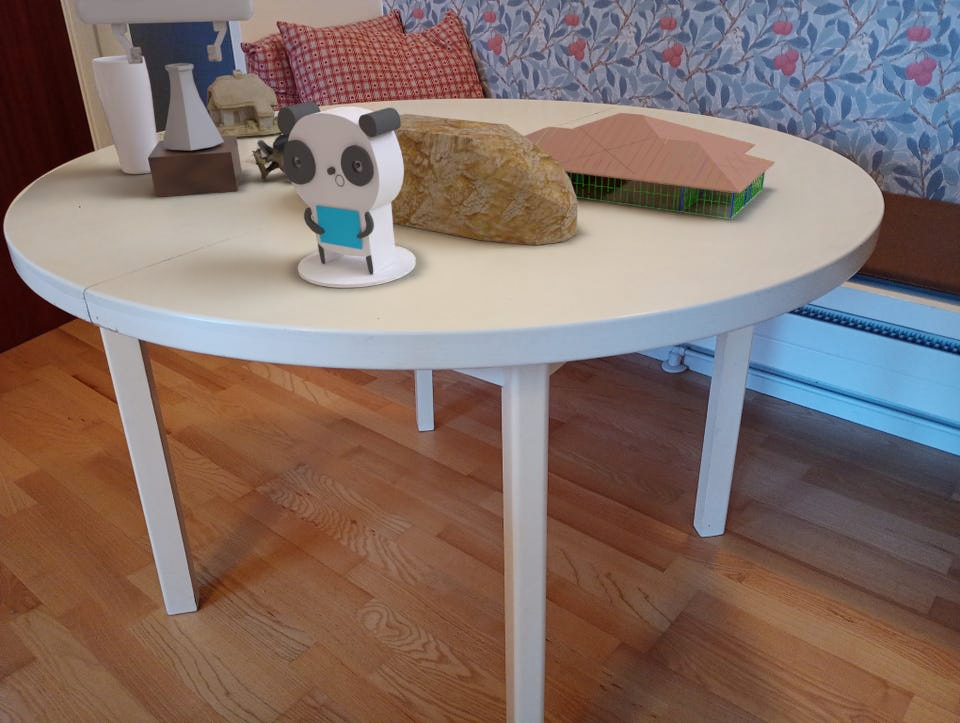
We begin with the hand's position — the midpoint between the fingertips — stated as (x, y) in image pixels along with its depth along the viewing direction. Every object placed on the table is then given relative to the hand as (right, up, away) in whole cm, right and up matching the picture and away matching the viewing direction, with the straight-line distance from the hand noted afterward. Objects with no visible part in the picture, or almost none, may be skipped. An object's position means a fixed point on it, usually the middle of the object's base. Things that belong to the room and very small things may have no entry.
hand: (176, 62), depth 101 cm
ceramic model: (-2, +1, +36) cm, 36 cm away
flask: (0, -9, +5) cm, 11 cm away
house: (+57, -14, +4) cm, 59 cm away
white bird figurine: (+7, -8, +17) cm, 21 cm away
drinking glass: (-10, -10, +14) cm, 20 cm away
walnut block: (+1, -14, +7) cm, 15 cm away
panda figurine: (+25, -28, -21) cm, 43 cm away
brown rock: (+32, -20, -7) cm, 38 cm away
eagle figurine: (+13, -13, +8) cm, 20 cm away
